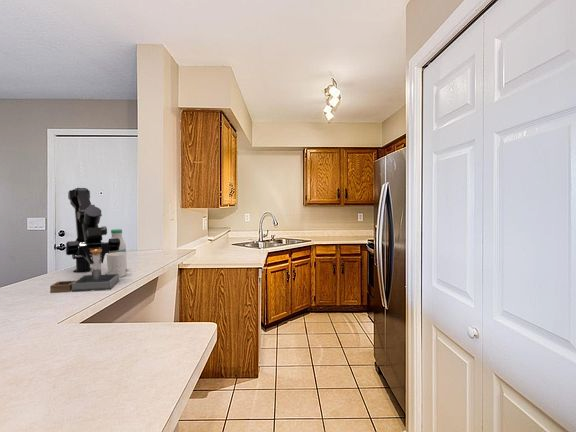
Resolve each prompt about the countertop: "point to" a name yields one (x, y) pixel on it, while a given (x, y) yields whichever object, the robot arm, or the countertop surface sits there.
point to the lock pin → (96, 263)
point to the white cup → (116, 263)
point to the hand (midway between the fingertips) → (96, 263)
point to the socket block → (61, 286)
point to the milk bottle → (118, 234)
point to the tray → (95, 283)
